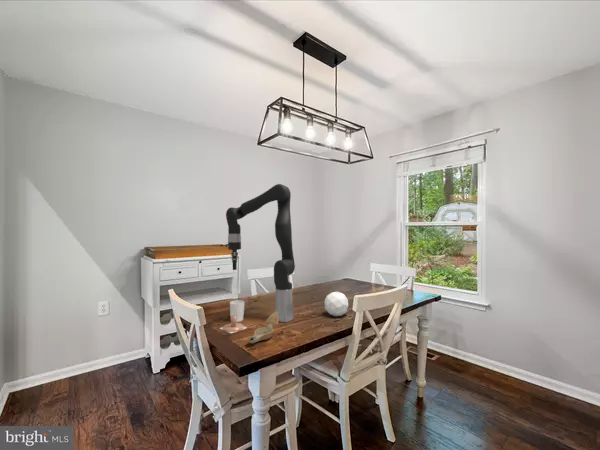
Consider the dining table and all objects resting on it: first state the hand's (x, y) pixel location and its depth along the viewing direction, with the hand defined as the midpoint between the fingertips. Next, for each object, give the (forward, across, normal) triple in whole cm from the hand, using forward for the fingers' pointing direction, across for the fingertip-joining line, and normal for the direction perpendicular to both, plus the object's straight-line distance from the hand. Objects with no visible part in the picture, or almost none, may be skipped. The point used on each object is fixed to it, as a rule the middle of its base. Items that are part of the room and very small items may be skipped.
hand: (234, 268), depth 164 cm
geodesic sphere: (+28, -15, -58) cm, 66 cm away
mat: (+27, -25, +1) cm, 36 cm away
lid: (+26, -25, +1) cm, 36 cm away
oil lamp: (+28, -40, -13) cm, 50 cm away
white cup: (+27, -12, -1) cm, 29 cm away
